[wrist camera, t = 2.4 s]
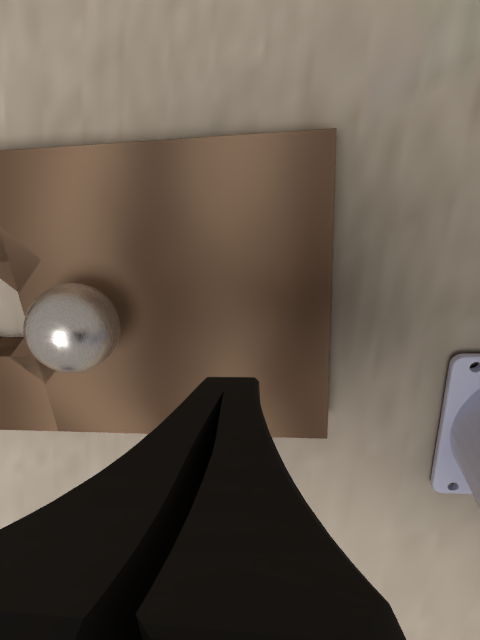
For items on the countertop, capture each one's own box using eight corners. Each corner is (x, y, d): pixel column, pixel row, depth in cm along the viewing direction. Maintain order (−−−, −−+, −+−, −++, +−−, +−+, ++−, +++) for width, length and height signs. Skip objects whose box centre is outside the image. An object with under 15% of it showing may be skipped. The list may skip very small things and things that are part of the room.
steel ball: (125, 270, 17) (87, 301, 14) (138, 346, 18) (106, 391, 15) (45, 272, 17) (-10, 303, 14) (64, 346, 19) (18, 390, 16)
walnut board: (331, 129, 16) (336, 128, 14) (324, 412, 21) (327, 438, 19) (-116, 158, 18) (-160, 161, 16) (-23, 405, 23) (-49, 428, 22)
